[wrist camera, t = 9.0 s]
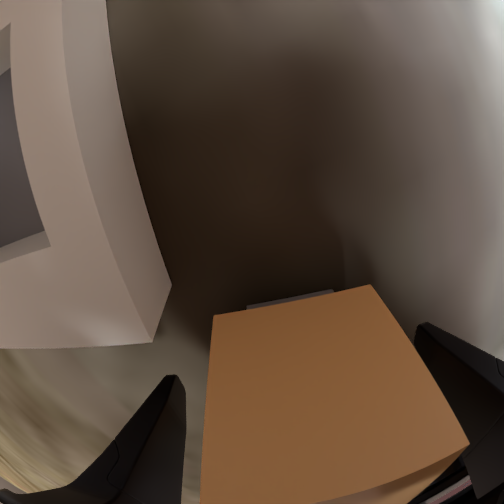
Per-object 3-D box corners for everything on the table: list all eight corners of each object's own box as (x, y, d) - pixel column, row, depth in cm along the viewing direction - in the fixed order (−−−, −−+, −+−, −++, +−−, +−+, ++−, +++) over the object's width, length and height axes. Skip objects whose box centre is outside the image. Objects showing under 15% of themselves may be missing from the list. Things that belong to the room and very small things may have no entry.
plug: (354, 262, 10) (470, 444, 3) (352, 357, 12) (407, 503, 5) (216, 289, 10) (199, 511, 3) (244, 379, 12) (252, 537, 5)
